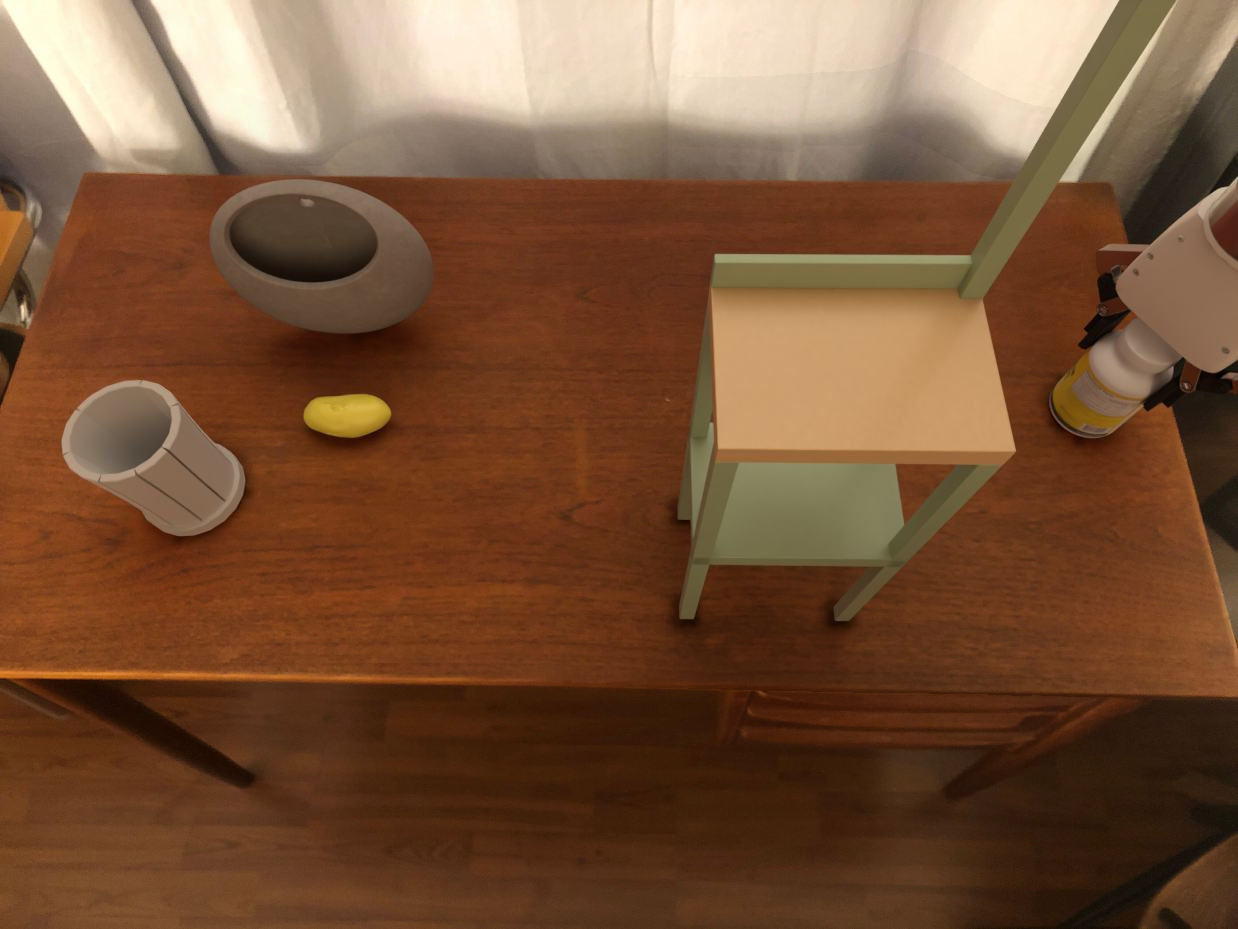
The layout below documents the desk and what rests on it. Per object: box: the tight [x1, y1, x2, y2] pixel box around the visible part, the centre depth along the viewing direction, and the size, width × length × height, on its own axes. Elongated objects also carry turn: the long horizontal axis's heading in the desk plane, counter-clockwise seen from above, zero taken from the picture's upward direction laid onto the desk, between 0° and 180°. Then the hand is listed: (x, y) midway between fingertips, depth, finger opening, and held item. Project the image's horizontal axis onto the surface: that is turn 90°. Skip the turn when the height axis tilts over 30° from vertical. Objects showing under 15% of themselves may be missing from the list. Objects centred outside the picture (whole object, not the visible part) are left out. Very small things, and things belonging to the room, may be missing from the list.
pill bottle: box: [1048, 316, 1184, 439], centre depth 69 cm, size 6×6×12 cm
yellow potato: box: [302, 393, 392, 439], centre depth 72 cm, size 4×8×4 cm, turn 87°
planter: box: [209, 178, 435, 334], centre depth 71 cm, size 18×7×19 cm, turn 94°
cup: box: [60, 379, 246, 537], centre depth 66 cm, size 10×9×12 cm
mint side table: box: [677, 0, 1177, 622], centre depth 43 cm, size 10×14×55 cm
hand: (1124, 369), depth 68 cm, fingers closed on pill bottle, 6 cm apart
